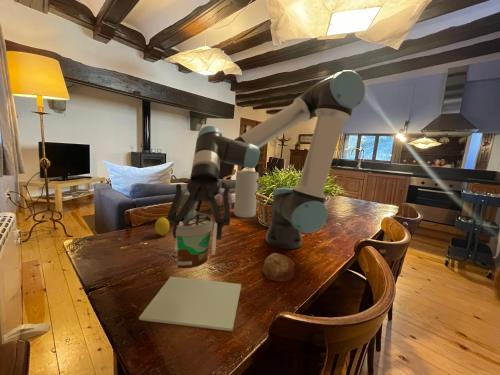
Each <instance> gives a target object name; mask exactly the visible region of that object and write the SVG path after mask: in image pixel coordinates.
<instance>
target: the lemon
mask: <svg viewBox="0 0 500 375" xmlns="http://www.w3.org/2000/svg"><path fill="white" fill-rule="evenodd" d="M154 230H155V232H156V233H157V234H158V235H160V236H161V237H162V236H165V235H166V234H167V233H169V231H170V222H169V220H168V218H166V217H164V216H161V217H159V218H158V219H157V220H156V222H155V224H154Z"/></svg>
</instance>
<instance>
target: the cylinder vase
mask: <svg viewBox="0 0 500 375" xmlns="http://www.w3.org/2000/svg"><path fill="white" fill-rule="evenodd" d="M259 176H260V175H259V172H258V171H252V170H236V175H235V187H234V188H235V190H234V206H233V214H234V216H236V217H237V218H238V217H239V218H244V219H249V218H253V217H255V216H256V214H257V200H258V199H256V195H255V192H256V191H257V192H258V187H259V186H258V185H259V182H258V183H257V182H256V181H257V179H258V180H259Z"/></svg>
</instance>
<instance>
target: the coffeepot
mask: <svg viewBox="0 0 500 375" xmlns="http://www.w3.org/2000/svg"><path fill="white" fill-rule="evenodd" d="M189 195H190V193H189V192H188V190H187V191H186V192H185V194H184V195H182V200H181V203H180V206H179V208H180V210H181V209H182V207H183V206H184V204H185V202H186V201H187V199H188V198H189ZM202 204H203V201H196V203H195V204H194V205H193V206H192V208H191V210H190V211H189V213H188V215H187V216H186V218H185V219H184V221H183V224H185V223H186V222H187V221H188V220H189V219H192V218H194V217H195V216H196V212H200V210H201V206H202ZM196 207H197V208H196Z"/></svg>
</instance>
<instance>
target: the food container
mask: <svg viewBox="0 0 500 375" xmlns="http://www.w3.org/2000/svg"><path fill="white" fill-rule="evenodd" d="M214 223H215V222H214V219H213V217H212V216H211V215H210V214H209V213H206V212H200V211H196V216H195V217H194V218H192V219H189V220H188V221H187V222H186V223H185V224H184V225H183V226H177V229H176V236H177V248H178V250H177V253H178V254H177V268H178V269H192V268H198V267H200V266H202V265H204V264H205V263H206V262H207V261H208V258H209V248H210V242H211V241H210V240H211V235H212V234H211V233H212V230H213V229H214Z"/></svg>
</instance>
